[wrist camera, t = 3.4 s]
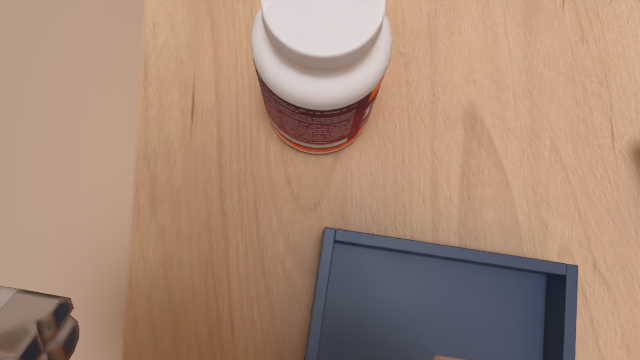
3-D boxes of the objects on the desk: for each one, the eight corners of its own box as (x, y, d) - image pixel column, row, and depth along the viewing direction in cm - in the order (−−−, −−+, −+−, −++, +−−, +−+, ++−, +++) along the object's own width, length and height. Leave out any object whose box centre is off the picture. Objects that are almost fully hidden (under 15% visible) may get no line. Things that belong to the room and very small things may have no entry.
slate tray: (291, 443, 24) (289, 463, 21) (323, 231, 26) (324, 226, 23) (542, 482, 23) (570, 508, 21) (552, 266, 26) (578, 265, 23)
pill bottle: (377, 149, 27) (422, 67, 16) (274, 163, 27) (249, 88, 16) (360, 53, 28) (391, -83, 17) (261, 65, 28) (230, -66, 17)
